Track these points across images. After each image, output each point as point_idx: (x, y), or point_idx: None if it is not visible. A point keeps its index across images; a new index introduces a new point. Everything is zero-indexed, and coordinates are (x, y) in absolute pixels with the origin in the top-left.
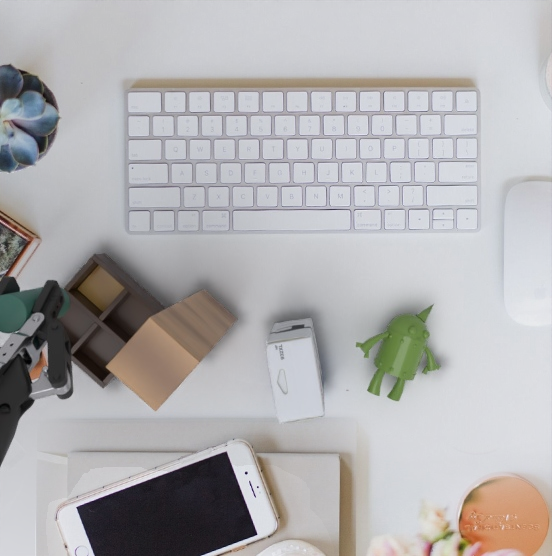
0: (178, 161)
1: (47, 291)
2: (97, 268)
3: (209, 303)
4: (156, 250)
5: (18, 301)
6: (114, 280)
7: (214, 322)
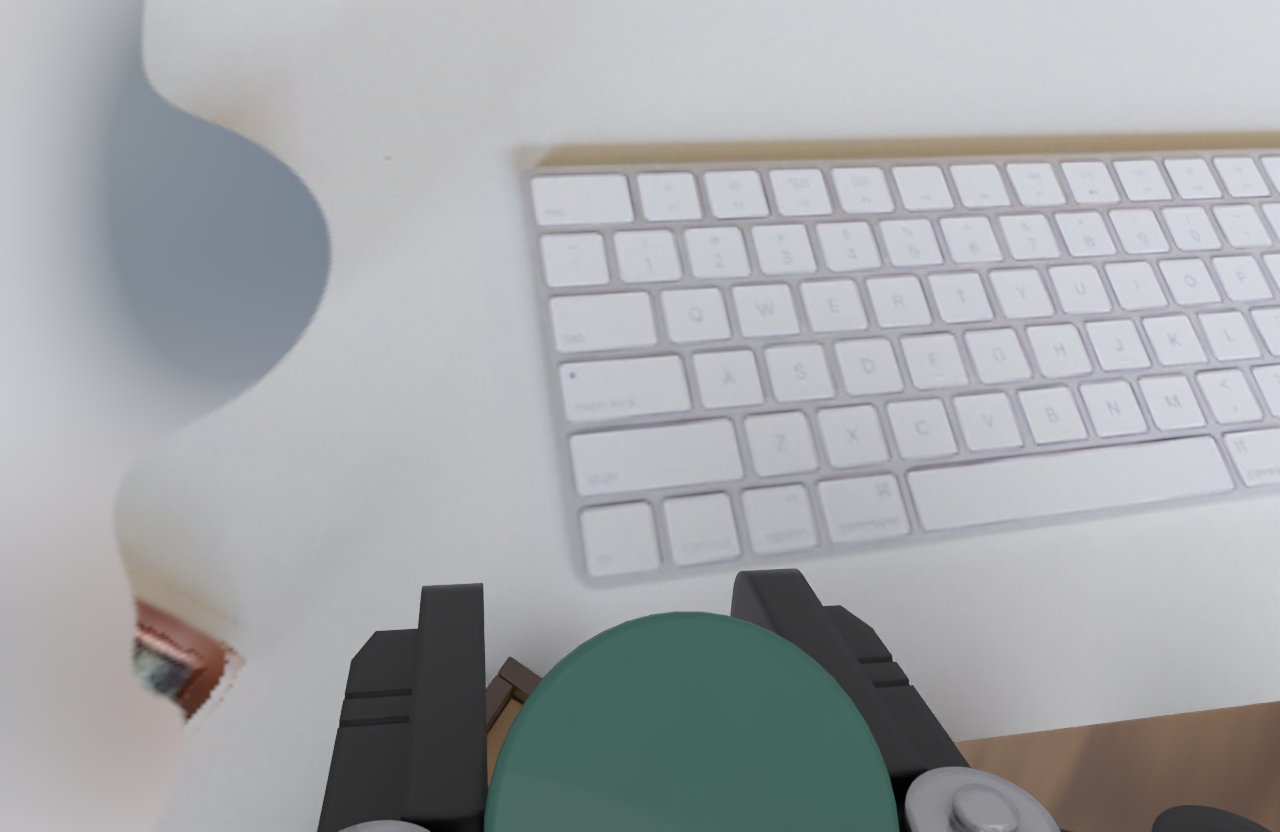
0: (710, 345)
1: (824, 623)
2: (497, 731)
3: None
4: None
5: (790, 665)
6: None
7: None
